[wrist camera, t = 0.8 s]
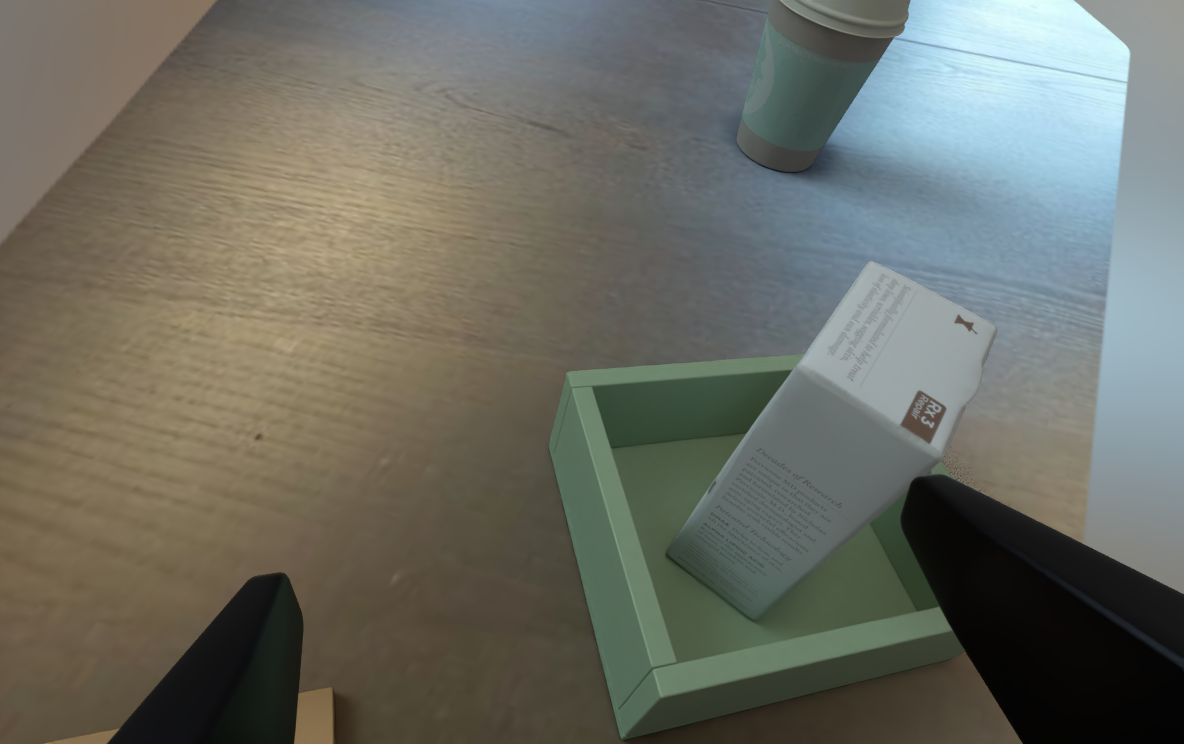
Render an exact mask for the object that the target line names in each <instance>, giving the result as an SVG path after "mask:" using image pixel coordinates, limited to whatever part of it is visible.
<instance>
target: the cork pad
mask: <svg viewBox="0 0 1184 744" xmlns="http://www.w3.org/2000/svg"><path fill="white" fill-rule="evenodd" d="M119 729H120V728H119ZM119 729H114V730H109V731H104V732H99V733H94V734H88V735H83V736H78V737H73V738H68V739H63V740H58V741H53V742H48V743H43V744H107V743H108V742H109V740H110V739H111V738H112V737H113V736H114V735H115V733H116V732H117V731H118V730H119ZM294 744H336V734H335V692H334V689H333V687H328V688H323V689H318V690H313V691H308V692H303V693H298V706H297V719H296V730H295V741H294Z"/></svg>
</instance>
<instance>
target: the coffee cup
mask: <svg viewBox="0 0 1184 744" xmlns="http://www.w3.org/2000/svg"><path fill="white" fill-rule="evenodd" d="M909 3H910V0H772V2H771V6H770V10H769V13H768V17H767V21H766V25H765V29H764V32H763V36H762V40H761V44H760V48H759V52H758V55H757V59H756V63H755V67H754V71H753V75H752V78H751V82H750V86H749V90H748V94H747V98H746V101H745V105H744V109H743V113H742V117H741V121H740V125H739V129H738V133H737V137H736V140H737V143H738V146H739V147H740V149H741V150H742V151H743V152H744V153H745V154H746V155H747V156H748V157H749V158H751V159H752V160H754V161H756V162H757V163H759V164H761V165H763V166H766V167H768V168H771V169H775V170H779V171H785V172H798V171H803V170H805V169H807V168H809V167H810V166H811V165H812V163H813V162H814V160H815V159H816V157H817V156H818V154H819V152H820V151H821V149H822V148H823V146H824V145H825V143H826V142H827V140H828V139H829V137H830V136H831V134H832V133H833V131H834V129H835V128H836V126H837V125H838V123H839V122H840V120H841V119H842V117H843V116H844V114H845V113H846V111H847V109H848V108H849V106H850V105H851V103H852V102H853V100H854V99H855V97H856V96H857V94H858V92H859V91H860V89H861V88H862V86H863V85H864V83H865V82H866V80H867V79H868V77H869V75H870V74H871V72H872V71H873V69H874V68H875V66H876V65H877V63H878V62H879V60H880V58H881V57H882V55H883V54H884V52H885V51H886V49H887V47H888V46H889V44H890V43H891V41H892V40H893V38H894V37H895V36H898V35H900V34H901V33H902V32H903V31H904V28H905V25H904V24H905V22H906V21H907V19H908V7H909Z"/></svg>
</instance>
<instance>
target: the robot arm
mask: <svg viewBox="0 0 1184 744" xmlns="http://www.w3.org/2000/svg"><path fill="white" fill-rule="evenodd" d="M900 523H901V528H902V531H903V534H904V536H905V538H906V540H907V542H908V544H909V546H910V548H911V550H912V552H913V554H914V556H915V558H916V560H917V562H918V564H919V566H920V568H921V570H922V572H923V574H924V576H925V578H926V580H927V582H928V584H929V586H930V589H931V591H932V593H933V595H934V597H935V599H936V601H937V603H938V605H939V607H940V609H941V611H942V612H943V614H944V616H945V618H946V620H947V622H948V624H949V625H950V627H951V629H952V630H953V632H954V634H955V635H956V637H957V639H958V640H959V642H960V644H961V645H962V647H963V648H964V650H965V652H966V653H967V655H968V656H969V658H970V660H971V661H972V663H973V664H974V666H975V668H976V669H977V671H978V672H979V674H980V676H981V677H982V679H983V680H984V682H985V684H986V685H987V687H988V689H989V690H990V692H991V693H992V695H993V697H994V698H995V700H996V701H997V703H998V705H999V706H1000V708H1001V709H1002V711H1003V713H1004V714H1005V716H1006V717H1007V719H1008V721H1009V722H1010V724H1011V725H1012V727H1013V729H1014V730H1015V732H1016V733H1017V735H1018V737H1019V738H1020V740H1021V741H1022V743H1023V744H1184V594H1182V593H1180V592H1178V591H1176V590H1174V589H1172V588H1170V587H1168V586H1166V585H1164V584H1162V583H1160V582H1158V581H1156V580H1154V579H1152V578H1150V577H1148V576H1146V575H1144V574H1142V573H1140V572H1138V571H1136V570H1134V569H1132V568H1130V567H1128V566H1126V565H1124V564H1122V563H1120V562H1118V561H1116V560H1114V559H1112V558H1110V557H1108V556H1106V555H1104V554H1102V553H1100V552H1098V551H1096V550H1094V549H1092V548H1090V547H1088V546H1086V545H1084V544H1082V543H1080V542H1078V541H1076V540H1074V539H1072V538H1070V537H1068V536H1066V535H1064V534H1062V533H1060V532H1058V531H1056V530H1054V529H1052V528H1050V527H1048V526H1046V525H1044V524H1042V523H1040V522H1038V521H1036V520H1034V519H1032V518H1030V517H1028V516H1026V515H1024V514H1022V513H1020V512H1018V511H1016V510H1014V509H1012V508H1010V507H1008V506H1006V505H1004V504H1002V503H1000V502H998V501H996V500H994V499H992V498H990V497H988V496H986V495H984V494H982V493H980V492H978V491H976V490H974V489H972V488H970V487H968V486H966V485H964V484H962V483H960V482H958V481H956V480H954V479H952V478H950V477H948V476H946V475H944V474H931V475H924V476H918V477H915V478H914V479H913V480H912V481H911V483H910V486H909V489H908V492H907V496H906V499H905V502H904V506H903V509H902V512H901V516H900ZM302 641H303V616H302V612H301V609H300V606H299V604H298V601H297V598H296V596H295V593H294V590H293V588H292V585H291V583H290V580H289V578H288V576H287V575H286V574H285V573H281V572H278V573H272V574H265V575H258V576H254V577H252V578H251V579H249V580H248V581H247V582H246V583H245V584H244V585H243V587H242V588H241V589H240V590H239V591H238V592H237V594H236V595H235V596H234V597H233V598H232V599H231V600H230V602H229V603H228V604H227V605H226V606H225V607H224V609H223V610H222V611H221V612H220V613H219V614H218V616H217V617H216V618H215V619H214V620H213V621H212V622H211V624H210V625H209V626H208V627H207V628H206V629H205V631H204V632H203V633H202V634H201V635H200V636H199V637H198V639H197V640H196V641H195V642H194V643H193V644H192V646H191V647H190V648H189V649H188V650H187V651H186V653H185V654H184V655H183V656H182V657H181V658H180V659H179V661H178V662H177V663H176V664H175V665H174V666H173V668H172V669H171V670H170V671H169V672H168V673H167V674H166V676H165V677H164V678H163V679H162V680H161V681H160V683H159V684H158V685H157V686H156V687H155V688H154V689H153V691H152V692H151V693H150V694H149V695H148V696H147V698H146V699H145V700H144V701H143V702H142V703H141V705H140V706H139V707H138V708H137V709H136V710H135V711H134V713H133V714H132V715H131V716H130V717H129V718H128V720H127V721H126V722H125V723H124V724H123V725H122V726H121V728H120V729H119V730H118V731H117V732H116V733H115V735H114V736H113V737H112V738H111V739H110V740H109V742H108V743H107V744H294V741H295V730H296V719H297V706H298V693H299V680H300V667H301V654H302Z"/></svg>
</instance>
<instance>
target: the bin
mask: <svg viewBox="0 0 1184 744" xmlns="http://www.w3.org/2000/svg"><path fill="white" fill-rule="evenodd" d="M804 355H805V354H801V355H788V356H774V357H760V358H747V359H733V360H719V361H706V362H692V363H679V364H665V365H651V366H638V367H624V368H610V369H597V370H583V371H569V372H567V375H566V379H565V383H564V387H563V391H562V395H561V399H560V403H559V407H558V411H557V415H556V419H555V423H554V427H553V431H552V435H551V439H550V442H549V450H550V454H551V458H552V462H553V466H554V470H555V474H556V478H557V482H558V486H559V490H560V494H561V498H562V502H563V506H564V510H565V515H566V519H567V523H568V527H569V531H570V535H571V539H572V543H573V547H574V551H575V555H576V559H577V563H578V567H579V571H580V576H581V580H582V584H583V588H584V592H585V596H586V600H587V604H588V608H589V612H590V616H591V620H592V624H593V628H594V632H595V637H596V641H597V645H598V649H599V653H600V657H601V661H602V665H603V669H604V673H605V677H606V681H607V685H608V689H609V693H610V697H611V702H612V706H613V710H614V714H615V718H616V722H617V726H618V730H619V734H620V738H621V740H626V739H630V738H634V737H638V736H642V735H646V734H650V733H654V732H658V731H662V730H666V729H670V728H674V727H678V726H682V725H686V724H690V723H694V722H698V721H703V720H707V719H711V718H715V717H719V716H723V715H727V714H731V713H735V712H739V711H743V710H747V709H751V708H755V707H759V706H763V705H767V704H771V703H775V702H779V701H783V700H787V699H791V698H795V697H799V696H803V695H807V694H811V693H815V692H819V691H824V690H828V689H832V688H836V687H840V686H844V685H848V684H852V683H856V682H860V681H864V680H868V679H872V678H876V677H880V676H884V675H888V674H892V673H896V672H900V671H904V670H908V669H912V668H916V667H920V666H924V665H928V664H932V663H936V662H940V661H944V660H949V659H952V658H954V657H955V656H957V655H959V654H961V653H963V652H964V651H965V650H964V648H963V647H962V645H961V644H960V642H959V640H958V639H957V637H956V635H955V634H954V632H953V630H952V629H951V627H950V625H949V624H948V622H947V620H946V618H945V616H944V614H943V612H942V611H941V609H940V607H939V605H938V603H937V601H936V599H935V597H934V595H933V593H932V591H931V589H930V586H929V584H928V582H927V580H926V578H925V576H924V574H923V572H922V570H921V568H920V566H919V564H918V562H917V560H916V558H915V556H914V554H913V552H912V550H911V548H910V546H909V544H908V542H907V540H906V538H905V536H904V534H903V531H902V528H901V523H900V516H901V512H902V509H903V506H904V502H905V499H906V496H907V492H908V491H907V492H905V493H904V494H903V495H902V496H901V497H900V498H898V499H897V500H896V501H895V502H894V503H893V504H892V505H890V506H889V507H888V508H887V509H886V510H885V511H883V512H882V513H881V514H880V515H879V516H878V517H876V518H875V519H874V520H873V521H872V522H871V523H869V524H868V525H867V526H866V527H865V528H864V529H862V530H861V531H860V532H859V533H858V534H857V535H855V536H854V537H853V538H852V539H851V540H850V541H848V542H847V543H846V544H845V545H844V546H843V547H841V548H840V549H839V550H838V551H837V552H836V553H834V554H833V555H832V556H831V557H830V558H829V559H827V560H826V561H825V562H824V563H823V564H822V565H820V566H819V567H818V568H817V569H816V570H815V571H813V572H812V573H811V574H810V575H809V576H807V577H806V578H805V579H804V580H803V581H802V582H801V583H799V584H798V585H797V586H796V587H795V588H794V589H793V590H791V591H790V592H789V593H788V594H787V595H786V596H784V597H783V598H782V599H781V600H780V601H779V602H777V603H776V604H775V605H774V606H773V607H772V608H770V609H769V610H768V611H767V612H766V613H764V614H763V615H762V616H761V617H760V618H759V619H757V620H753V619H751V618H750V617H748V616H747V615H745V614H744V613H742V612H741V611H740V610H738V609H737V608H735V607H734V606H733V605H731V604H730V603H729V602H727V601H726V600H724V599H723V598H722V597H720V596H719V595H718V594H716V593H715V592H714V591H713V590H711V589H710V588H709V587H707V586H706V585H705V584H703V583H702V582H701V581H700V580H698V579H697V578H695V577H694V576H693V575H692V574H690V573H689V572H688V571H686V570H685V569H684V568H683V567H682V566H681V565H679V564H678V563H677V562H675V561H674V560H673V559H672V558H671V557H670V556H669V555H668V554H667V550H668V548H669V547H670V545H671V544H672V542H673V541H674V539H675V538H676V536H677V535H678V533H679V532H680V530H681V529H682V527H683V526H684V524H685V523H686V521H687V520H688V518H689V517H690V515H691V514H692V512H693V511H694V509H695V508H696V506H697V505H698V503H699V502H700V500H701V499H702V497H703V496H704V494H705V493H706V491H707V490H708V488H709V487H710V486H711V484H712V483H713V481H714V480H715V478H716V477H717V475H718V474H719V472H720V471H721V470H722V468H723V467H724V465H725V464H726V462H727V461H728V459H729V458H730V457H731V455H732V454H733V452H734V451H735V449H736V448H737V447H738V445H739V444H740V442H741V441H742V439H743V438H744V437H745V435H746V434H747V432H748V431H749V429H750V428H751V427H752V425H753V424H754V422H755V421H756V419H757V418H758V417H759V415H760V414H761V412H762V411H763V410H764V408H765V407H766V406H767V404H768V403H769V402H770V400H771V399H772V398H773V396H774V395H775V393H776V392H777V391H778V389H779V388H780V387H781V385H782V384H783V383H784V381H785V380H786V379H787V377H788V376H789V375H790V373H791V372H792V371H793V369H794V368H795V367H796V365H797V364H798V363H799V361H800V360H801V359H802V357H803V356H804ZM931 474H944V475H946V476H948V477H950V478H952V476H951V475H950V473H949V472H948V470H947V468H946V467H945V465H944V464H943V462H942V461H940V462H939V463H938V464H937V465H936V466H935V467H934V468H933V469H932V470H930V471H929V472H928V473H927V474H926V475H931ZM952 479H953V478H952Z"/></svg>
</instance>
